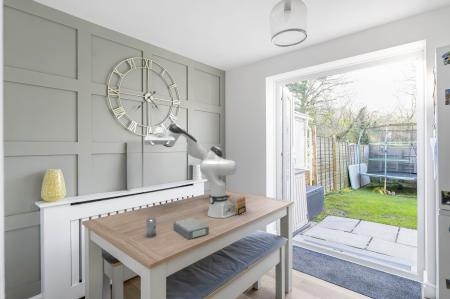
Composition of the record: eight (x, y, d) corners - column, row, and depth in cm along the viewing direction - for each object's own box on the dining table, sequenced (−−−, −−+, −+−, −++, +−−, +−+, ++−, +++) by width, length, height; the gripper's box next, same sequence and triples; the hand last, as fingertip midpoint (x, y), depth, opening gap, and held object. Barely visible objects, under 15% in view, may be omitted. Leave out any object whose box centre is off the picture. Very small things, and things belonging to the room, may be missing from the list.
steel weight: (153, 233, 131) (153, 217, 130) (157, 236, 127) (157, 219, 126) (144, 235, 127) (144, 218, 127) (148, 238, 124) (148, 221, 123)
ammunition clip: (237, 216, 163) (238, 198, 163) (235, 215, 165) (235, 198, 164) (245, 212, 172) (246, 196, 172) (243, 211, 173) (244, 195, 173)
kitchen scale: (192, 225, 144) (193, 217, 144) (209, 234, 130) (209, 225, 130) (173, 229, 136) (173, 221, 136) (188, 240, 122) (188, 231, 122)
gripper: (174, 141, 170) (176, 149, 158) (144, 141, 164) (144, 149, 152) (174, 133, 168) (176, 140, 156) (144, 133, 162) (143, 140, 150)
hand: (160, 144), depth 154 cm, fingers open, 8 cm apart
